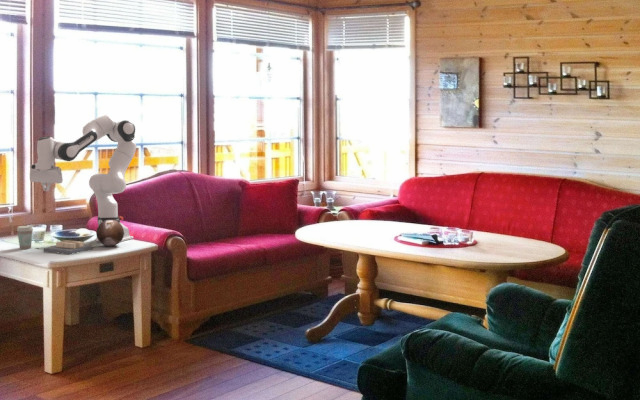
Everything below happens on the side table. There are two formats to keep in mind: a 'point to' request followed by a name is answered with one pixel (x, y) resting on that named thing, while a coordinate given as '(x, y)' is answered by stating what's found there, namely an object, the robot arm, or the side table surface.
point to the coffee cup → (25, 236)
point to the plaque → (69, 244)
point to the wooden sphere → (110, 232)
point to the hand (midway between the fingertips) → (46, 190)
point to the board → (67, 249)
